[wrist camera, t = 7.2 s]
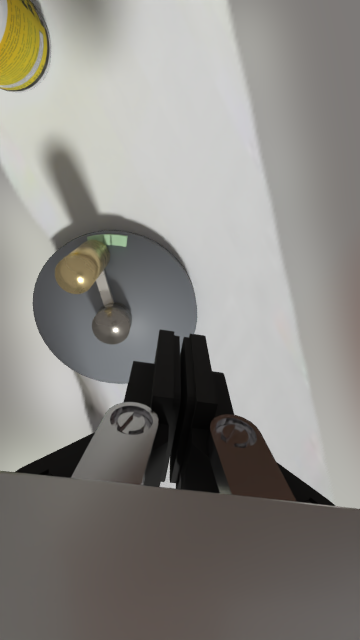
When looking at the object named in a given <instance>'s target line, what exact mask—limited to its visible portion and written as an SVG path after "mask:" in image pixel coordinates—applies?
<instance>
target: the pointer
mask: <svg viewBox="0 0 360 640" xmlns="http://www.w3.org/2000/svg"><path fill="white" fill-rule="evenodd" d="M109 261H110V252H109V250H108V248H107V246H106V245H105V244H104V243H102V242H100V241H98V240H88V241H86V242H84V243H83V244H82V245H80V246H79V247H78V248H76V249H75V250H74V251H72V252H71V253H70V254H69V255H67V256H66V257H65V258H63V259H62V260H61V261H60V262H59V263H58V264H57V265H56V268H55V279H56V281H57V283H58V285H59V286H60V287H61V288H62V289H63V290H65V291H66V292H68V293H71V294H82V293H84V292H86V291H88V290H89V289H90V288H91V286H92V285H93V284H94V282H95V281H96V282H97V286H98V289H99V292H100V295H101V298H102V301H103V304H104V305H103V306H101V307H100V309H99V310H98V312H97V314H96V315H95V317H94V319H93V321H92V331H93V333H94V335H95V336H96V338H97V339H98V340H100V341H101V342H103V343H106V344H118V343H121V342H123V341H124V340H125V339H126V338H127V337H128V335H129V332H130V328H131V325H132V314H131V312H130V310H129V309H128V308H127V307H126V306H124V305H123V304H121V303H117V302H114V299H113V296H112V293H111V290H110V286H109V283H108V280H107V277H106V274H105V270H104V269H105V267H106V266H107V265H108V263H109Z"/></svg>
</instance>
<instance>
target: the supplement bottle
mask: <svg viewBox="0 0 360 640" xmlns="http://www.w3.org/2000/svg"><path fill="white" fill-rule="evenodd" d="M50 61H51V42H50V37H49V33H48V30H47V27H46V25H45V23H44V20H43V19H42V17H41V15H40V14H39V12H38V11H37V9H36V8H35V6H34V5H33V4H32V2H31V1H30V0H0V88H1V89H3V90H6V91H9V92H16V93H19V92H26V91H29V90H31V89H33V88H35V87H36V86H38V85H39V84H40V83H41V82H42V80H43V79H44V78H45V76H46V74H47V72H48V69H49V66H50Z"/></svg>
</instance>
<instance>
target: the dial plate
mask: <svg viewBox="0 0 360 640" xmlns="http://www.w3.org/2000/svg"><path fill="white" fill-rule="evenodd" d="M88 240H98V241H100V242H102V243H104V244H105V245H106V246H107V248H108V250H109V252H110V261H109V263H108V265H107V266H106V267H105V269H104V270H105V274H106V277H107V280H108V283H109V286H110V290H111V293H112V296H113V299H114V302H117V303H121V304H123V305H124V306H126V307H127V308H128V309H129V310H130V312H131V314H132V325H131V328H130V332H129V335H128V337H127V338H126V339H125V340H124V341H123V342H121V343H118V344H106V343H103V342H101V341H100V340H98V339H97V338H96V336H95V335H94V333H93V331H92V321H93V319H94V317H95V315H96V314H97V312H98V310H99V309H100V307H101V306H103V305H104V304H103V301H102V298H101V295H100V292H99V289H98V286H97V282H96V281H95V282H94V284H93V285H92V286H91V288H90V289H89V290H88V291H86V292H84V293H82V294H71V293H68V292H66V291H65V290H63V289H62V288H61V287H60V286H59V285H58V283H57V281H56V279H55V268H56V265H57V264H58V263H59V262H60V261H61V260H62V259H63V258H65V257H66V256H67V255H69V254H70V253H71V252H72V251H74V250H75V249H76V248H78V247H79V246H80V245H82V244H83V243H84V242H86V241H88ZM33 311H34V317H35V321H36V325H37V327H38V330H39V333H40V335H41V336H42V338H43V340H44V342H45V343H46V345H47V346H48V347H49V349H50V350H51V351H52V353H53V354H54V355H55V356H56V357H57V358H58V359H59V360H60V361H62V362H63V363H64V364H65V365H67V366H68V367H69V368H71V369H72V370H74V371H76V372H78V373H79V374H81V375H84V376H86V377H88V378H91V379H94V380H98V381H102V382H107V383H117V384H124V383H128V382H129V377H130V373H131V369H132V364H133V361H139V362H146V363H154V361H155V355H156V349H157V342H158V336H159V330H160V329H161V330H168V331H174V335H175V336H180V353H181V348H182V343H183V338H184V337H189V335H190V334H194V332H195V329H196V322H197V305H196V299H195V293H194V290H193V286H192V283H191V281H190V279H189V277H188V275H187V273H186V271H185V270H184V268H183V267H182V265H181V264H180V263H179V262H178V260H177V259H176V258H175V257H174V256H173V255H172V254H171V253H170V252H169V251H168V250H166V249H165V248H164V247H162V246H161V245H159V244H158V243H156V242H154V241H152V240H150V239H148V238H146V237H143V236H141V235H138V234H135V233H130V232H126V231H116V230H109V231H98V232H93V233H89V234H86V235H83V236H80V237H78V238H76V239H74V240H72V241H71V242H69V243H67V244H66V245H65V246H63V247H62V248H60V249H59V250H58V251H56V252H55V253H54V254H53V255H52V257H50V258H49V260H48V261H47V262H46V264H45V265H44V266H43V268H42V270H41V272H40V273H39V276H38V278H37V282H36V284H35V288H34V293H33Z"/></svg>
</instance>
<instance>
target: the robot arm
mask: <svg viewBox="0 0 360 640" xmlns="http://www.w3.org/2000/svg"><path fill="white" fill-rule="evenodd" d="M169 458H170V483H176V489H174V488H164V487H160V482H165V478H166V473H167V468H168V463H169ZM0 640H360V509H356V508H346V507H338V506H335V505H334V504H333V503H331V502H330V501H329V500H328V499H326V498H325V497H324V496H322V495H321V494H320V493H318V492H317V491H315V490H314V489H313V488H311V487H310V486H309V485H307V484H306V483H304V482H303V481H302V480H300V479H299V478H298V477H296V476H295V475H293V474H292V473H291V472H289V471H288V470H287V469H285V468H284V467H282V466H281V465H280V464H278V463H277V462H276V461H275V459H274V457H273V455H272V453H271V451H270V449H269V448H268V446H267V444H266V442H265V440H264V438H263V436H262V434H261V432H260V431H259V430H258V428H257V427H256V426H255V425H254V424H253V423H252V422H250V421H248V420H247V419H245V418H243V417H240V416H237V415H234V413H233V409H232V404H231V400H230V396H229V392H228V388H227V384H226V380H225V376H224V373H220V372H213V371H212V370H211V364H210V359H209V354H208V348H207V343H206V338H205V336H203V335H196V334H190V335H189V337H184V338H183V343H182V348H181V353H180V336H175V335H174V331H168V330H161V329H160V330H159V336H158V342H157V349H156V355H155V361H154V363H146V362H139V361H133V364H132V369H131V373H130V377H129V382H128V386H127V391H126V395H125V399H124V402H123V403H120V404H116V405H114V406H113V407H111V408H109V410H108V411H107V412H106V413H105V415H104V417H103V419H102V421H101V423H100V424H99V426H98V428H97V430H96V432H95V433H92V434H90V435H88V436H86V437H84V438H82V439H80V440H78V441H76V442H74V443H72V444H70V445H68V446H66V447H64V448H62V449H59V450H57V451H55V452H53V453H51V454H49V455H47V456H45V457H43V458H41V459H39V460H36V461H34V462H32V463H30V464H28V465H26V466H24V467H22V468H20V469H19V470H17V471H16V472H6V471H0Z"/></svg>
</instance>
